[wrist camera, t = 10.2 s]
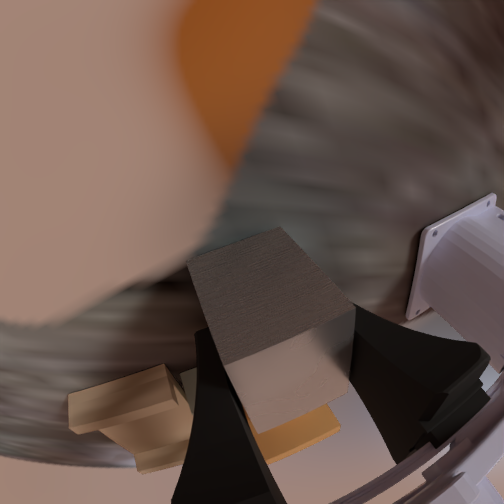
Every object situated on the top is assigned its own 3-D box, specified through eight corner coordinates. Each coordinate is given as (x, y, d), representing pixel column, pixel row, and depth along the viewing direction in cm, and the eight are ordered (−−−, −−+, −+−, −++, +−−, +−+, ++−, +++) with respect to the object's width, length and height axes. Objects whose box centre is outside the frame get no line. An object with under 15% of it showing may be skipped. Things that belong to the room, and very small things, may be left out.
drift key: (292, 307, 15) (347, 382, 11) (300, 369, 19) (339, 430, 15) (209, 341, 14) (245, 430, 10) (237, 397, 18) (267, 464, 14)
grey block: (280, 226, 12) (355, 307, 8) (293, 314, 15) (347, 392, 11) (185, 261, 11) (223, 365, 7) (219, 344, 14) (258, 434, 10)
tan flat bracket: (164, 363, 14) (172, 398, 13) (211, 426, 19) (221, 451, 18) (68, 394, 13) (68, 428, 12) (137, 448, 18) (142, 474, 16)
